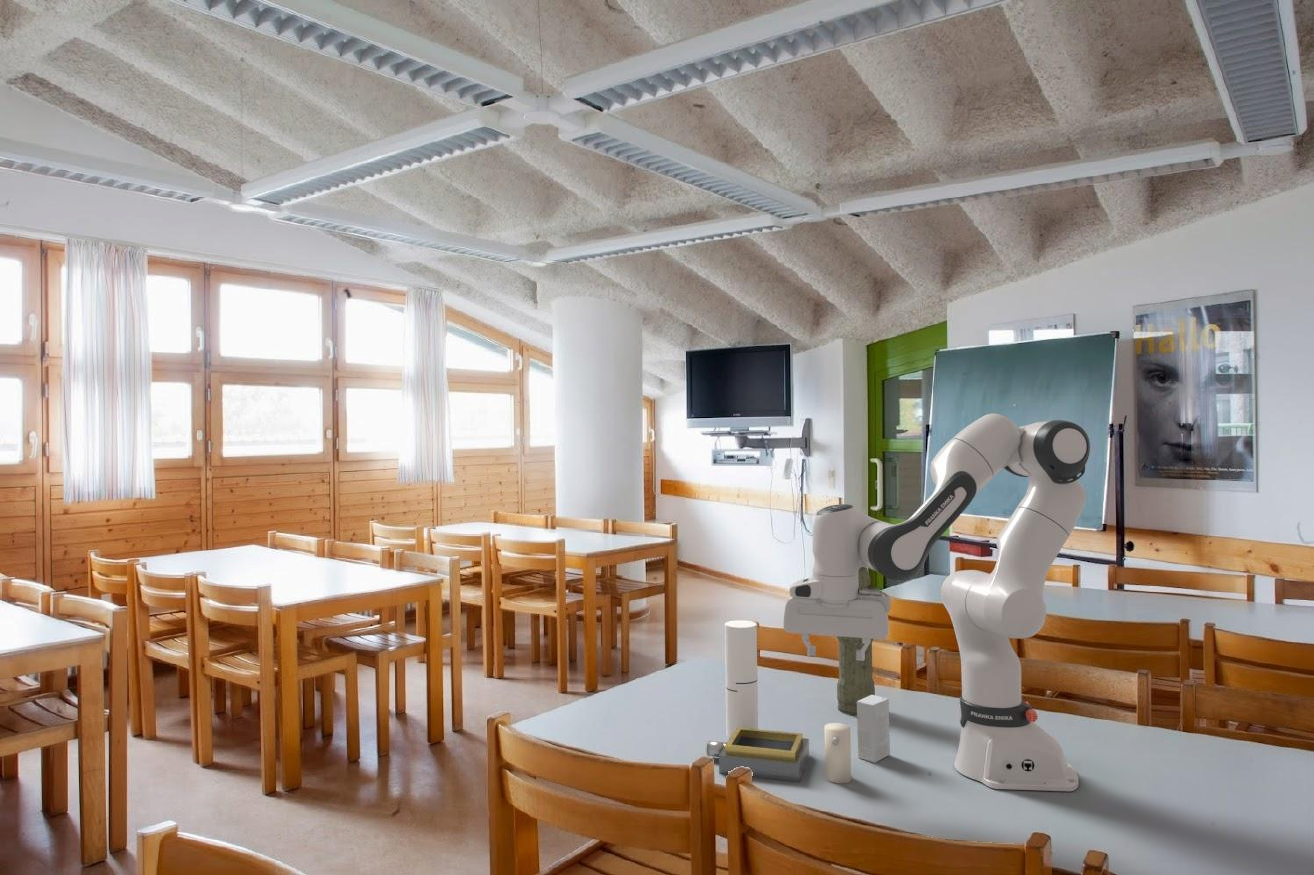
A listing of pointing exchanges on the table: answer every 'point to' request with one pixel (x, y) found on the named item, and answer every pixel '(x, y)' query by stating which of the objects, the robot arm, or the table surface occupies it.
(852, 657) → the thermos
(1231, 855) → the table surface
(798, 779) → the box
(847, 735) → the spout can
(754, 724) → the cylindrical container
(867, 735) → the skincare box
